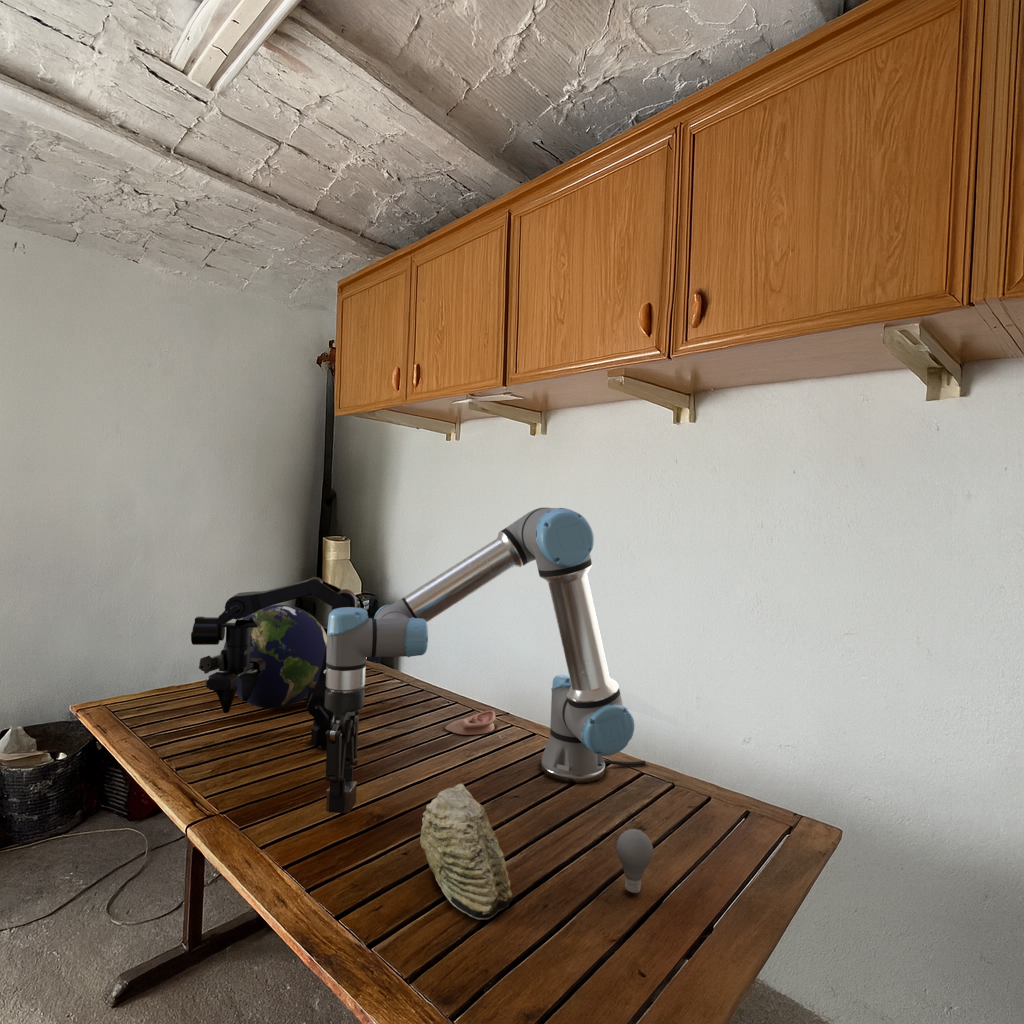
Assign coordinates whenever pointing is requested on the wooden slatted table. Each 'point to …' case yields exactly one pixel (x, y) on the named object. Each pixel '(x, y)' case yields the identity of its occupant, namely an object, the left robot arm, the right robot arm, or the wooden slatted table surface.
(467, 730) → the anatomical model
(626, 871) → the light bulb
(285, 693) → the globe
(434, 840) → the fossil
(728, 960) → the wooden slatted table surface
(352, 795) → the block
